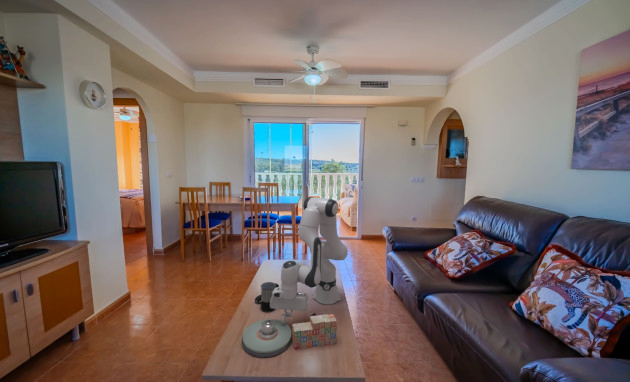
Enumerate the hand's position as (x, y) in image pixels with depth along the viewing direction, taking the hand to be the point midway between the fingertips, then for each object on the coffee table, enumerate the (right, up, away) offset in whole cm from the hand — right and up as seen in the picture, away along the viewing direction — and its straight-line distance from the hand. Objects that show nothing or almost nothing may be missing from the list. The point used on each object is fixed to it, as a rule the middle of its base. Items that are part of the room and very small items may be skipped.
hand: (288, 316), depth 138 cm
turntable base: (-10, -7, -9) cm, 15 cm away
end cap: (+15, -7, 0) cm, 17 cm away
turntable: (-10, -5, -9) cm, 14 cm away
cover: (-9, -4, -10) cm, 14 cm away
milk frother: (-17, -4, +22) cm, 28 cm away
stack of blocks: (+14, -8, -10) cm, 19 cm away
